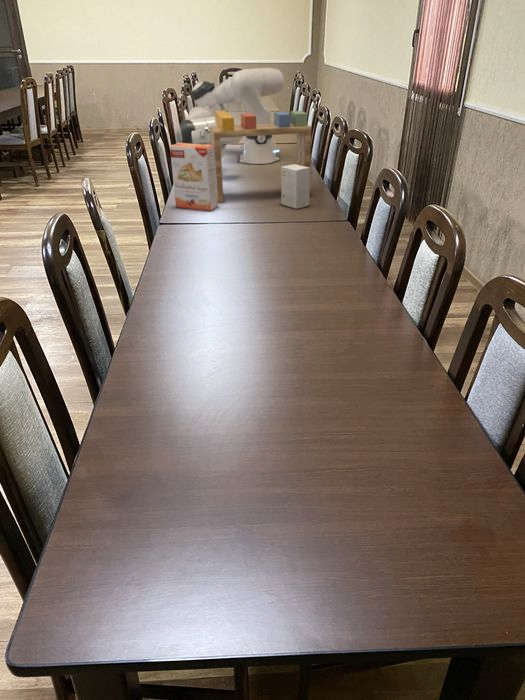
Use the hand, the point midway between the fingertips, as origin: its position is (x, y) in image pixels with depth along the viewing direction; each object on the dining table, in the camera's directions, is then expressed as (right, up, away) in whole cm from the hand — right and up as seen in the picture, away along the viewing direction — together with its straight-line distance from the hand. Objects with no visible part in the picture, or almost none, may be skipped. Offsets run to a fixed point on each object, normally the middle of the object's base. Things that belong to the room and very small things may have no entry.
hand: (218, 128), depth 207 cm
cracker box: (-6, -36, -19) cm, 41 cm away
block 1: (+12, -7, -19) cm, 24 cm away
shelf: (+17, -27, -6) cm, 33 cm away
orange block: (+4, -6, -17) cm, 19 cm away
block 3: (+30, -5, -16) cm, 34 cm away
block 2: (+24, -6, -17) cm, 30 cm away
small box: (+29, -35, -18) cm, 48 cm away
